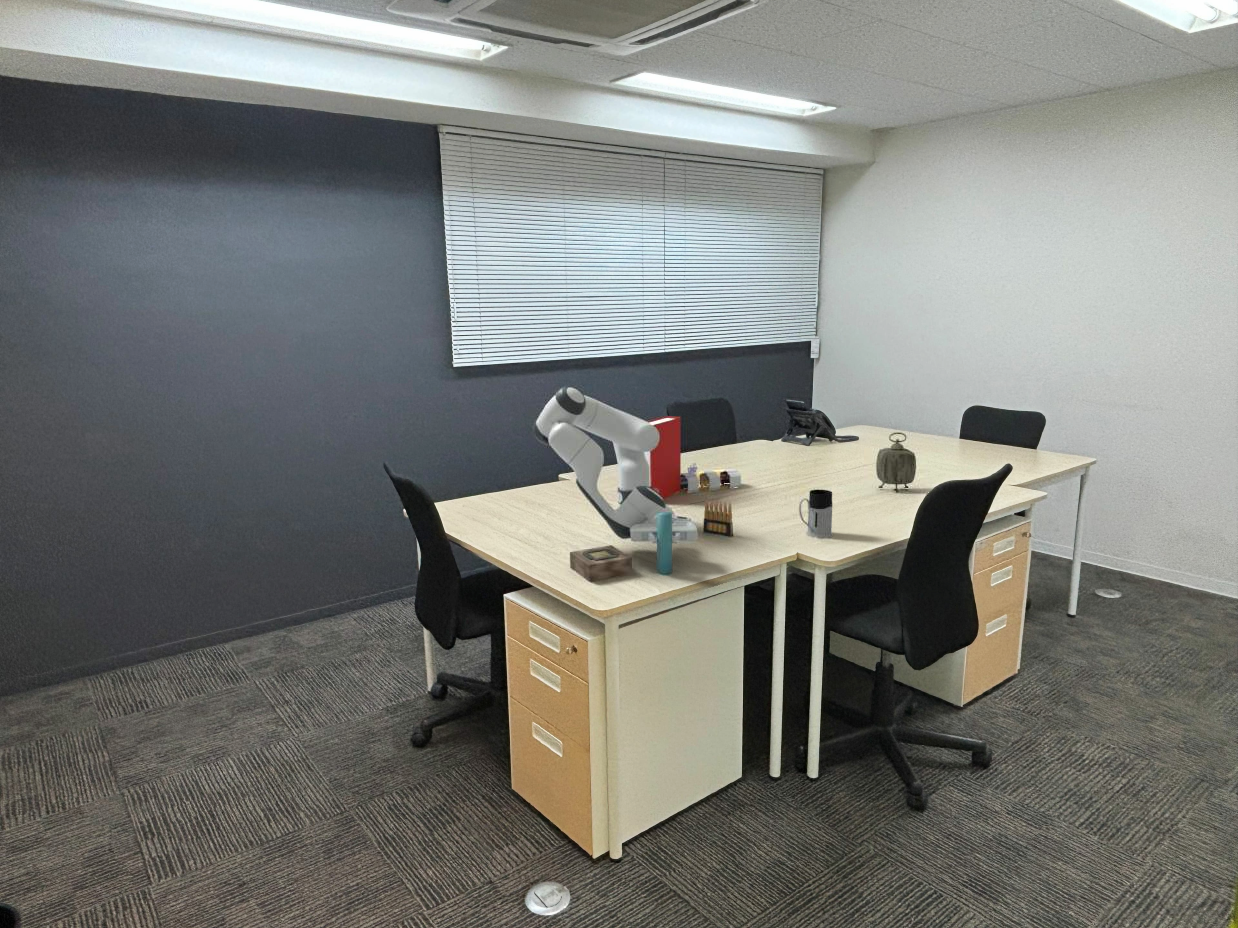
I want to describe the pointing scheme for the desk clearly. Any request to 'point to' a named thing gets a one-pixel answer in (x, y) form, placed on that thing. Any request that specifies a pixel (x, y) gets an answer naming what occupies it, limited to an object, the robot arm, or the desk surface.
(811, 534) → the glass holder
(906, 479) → the tabletop clock
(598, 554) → the tan square plate
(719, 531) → the ammunition clip
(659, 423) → the book
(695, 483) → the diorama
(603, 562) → the socket block
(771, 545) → the desk surface
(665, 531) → the peg
